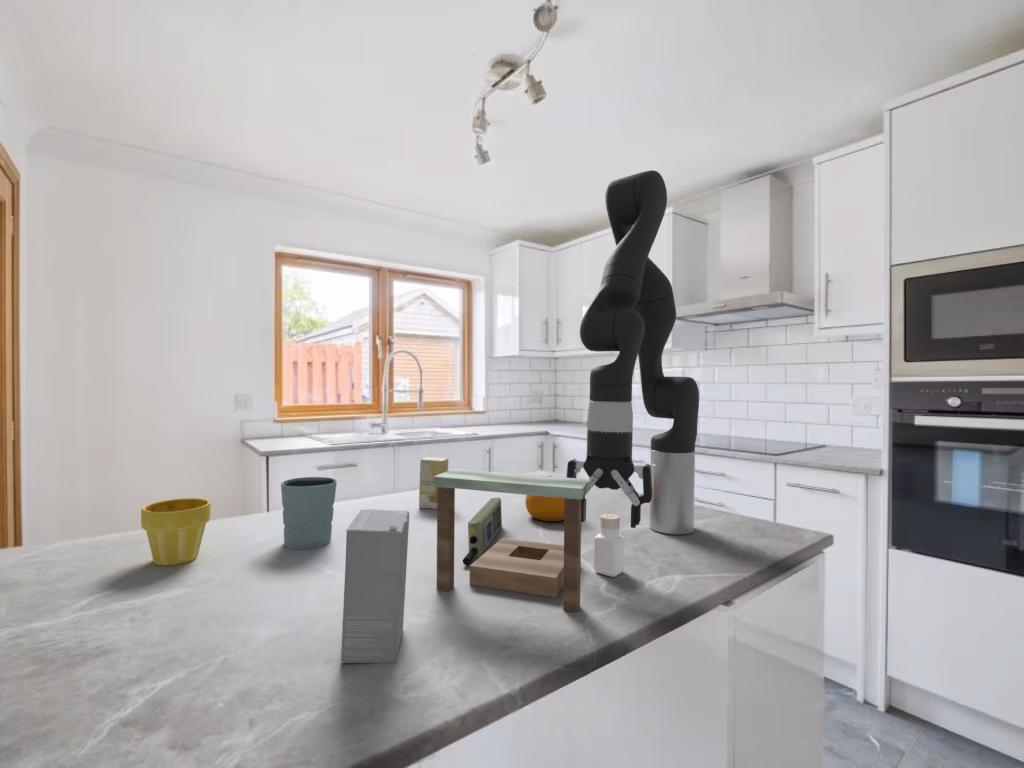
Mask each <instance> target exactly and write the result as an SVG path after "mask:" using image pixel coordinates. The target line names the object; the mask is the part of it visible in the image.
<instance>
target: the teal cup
mask: <svg viewBox="0 0 1024 768" xmlns="http://www.w3.org/2000/svg"><path fill="white" fill-rule="evenodd" d="M280 488H281V489H280V491H281V492H280V493H281V504H282V509H283V510H282V521H283V523H282V524H283V525H284V527H283V542H284V543H283V544H284V546H285V547H286V548H287V549H291V550H309V548H311V549H316V548H315V547H317V548H320V547H323V546H326V545H327V543H328V544H329V543H330V542H331V540H332V531H333V527H332V526H333V525H332V522H333V519H334V511H335V509H334V505H335V500H336V492H337V490H336V489H337V479H335V478H332V477H326V476H321V477H320V476H307V477H297V478H291V479H286V480H283V481H282V482H280ZM325 544H326V545H325ZM322 545H323V546H322ZM319 546H320V547H319Z"/></svg>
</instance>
